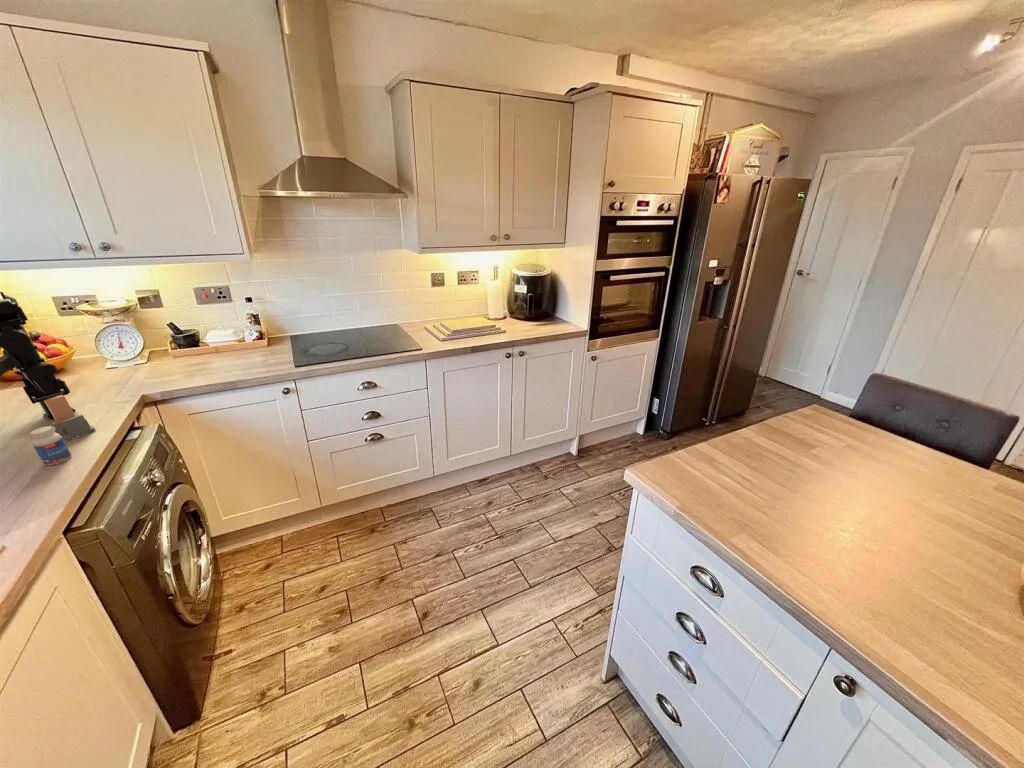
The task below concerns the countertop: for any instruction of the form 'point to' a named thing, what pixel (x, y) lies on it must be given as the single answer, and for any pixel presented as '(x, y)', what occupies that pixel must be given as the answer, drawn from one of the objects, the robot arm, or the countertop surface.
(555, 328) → the countertop surface
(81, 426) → the switch base
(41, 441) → the pill bottle
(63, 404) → the orange tall block
